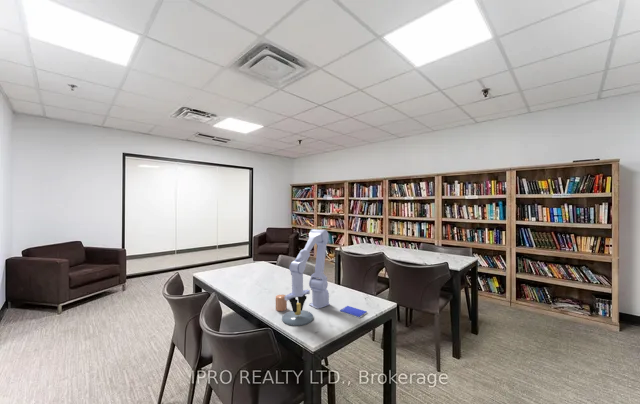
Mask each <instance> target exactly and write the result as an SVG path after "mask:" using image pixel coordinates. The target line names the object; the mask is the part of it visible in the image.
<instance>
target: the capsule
mask: <svg viewBox="0 0 640 404" xmlns="http://www.w3.org/2000/svg"><path fill="white" fill-rule="evenodd" d="M300 314H301V303H299V302H297V311H296V313H295V315H300Z"/></svg>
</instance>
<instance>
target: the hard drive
mask: <svg viewBox="0 0 640 404" xmlns="http://www.w3.org/2000/svg"><path fill="white" fill-rule="evenodd" d="M339 313H341V314H345V315H348V316H350V317H354V318H357V319H360V317H361V318H362V317H363V315H364V316H365V315H366V314H368V311H366V310H363V309H359V308H356V307H352V306H349V305H346V306H345V307H343V308H341V309H339Z"/></svg>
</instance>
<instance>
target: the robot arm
mask: <svg viewBox="0 0 640 404" xmlns="http://www.w3.org/2000/svg"><path fill="white" fill-rule="evenodd" d="M329 234H330V233H329V232H328V230H326V229H315V228H311V229H310V230H309V233H308V239H307V242H306V243H305V245H304V248H303V249H301V250H300V251H299V253H298V254H297V256H296V258H295V259H294V260H293V261H291V262H290V264H289V267H288V269H289V272H290V275H291V292H290V293H288V294H285V295H286V296H285V300H286V301H287V302H289V303H290V305H291V306H290V307H291V309H292V311H293V312H295V313H296V311H297V303H301V311H302V310H303V308H304V304H305V302H306V300H307V298H308V297H307V295H310V294H311V296H312V297H311V298H312V301H311V303H309V304H308V305H309V306H311V307H312V308H315V309H317V310H319V309H321V308H324V307H327V306H330V305H331V304H330V301H329V300H330V299H329V298H330V293H329V290H328V289H327V288H328V286H329V285H328V284H329V283H328V276H327V275H326V274H325V272H324V271H325V264H326V263H325V260H326V251H327V245H328V244H329ZM315 245H316V246H317V249H316V256H315V266H314V273H312V274H311V275H310V279H309V281H308V287H309V288H310V289H304V272H305V270H306V266H307V261H308V260H309V258H310V256H311V253H310V252H311V251H312V249H313V248H314V246H315Z"/></svg>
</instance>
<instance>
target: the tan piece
mask: <svg viewBox="0 0 640 404" xmlns="http://www.w3.org/2000/svg"><path fill="white" fill-rule="evenodd" d="M286 295H287V294H277V295H276V296H275V310H276V311H277V312H283V311H286V310H287V308H288V301H286V300H285V296H286Z"/></svg>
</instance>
